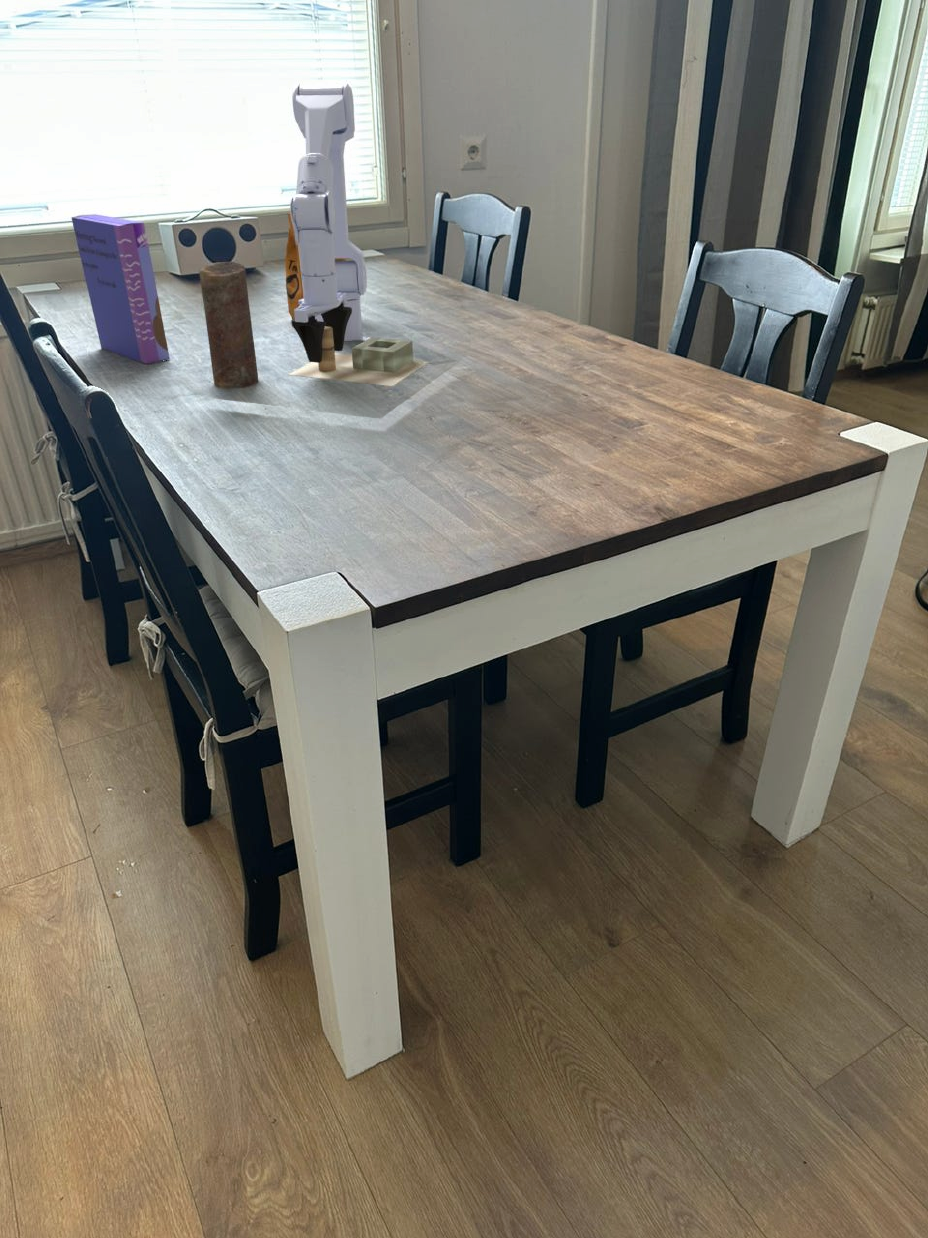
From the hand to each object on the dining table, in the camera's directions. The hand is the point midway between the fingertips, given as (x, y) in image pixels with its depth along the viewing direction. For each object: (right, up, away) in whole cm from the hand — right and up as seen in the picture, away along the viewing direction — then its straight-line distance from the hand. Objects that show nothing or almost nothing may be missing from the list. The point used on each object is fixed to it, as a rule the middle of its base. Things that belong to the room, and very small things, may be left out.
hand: (326, 356), depth 151 cm
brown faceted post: (-14, -7, -3) cm, 16 cm away
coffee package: (-7, +19, +38) cm, 43 cm away
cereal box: (-40, +5, +17) cm, 44 cm away
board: (+6, -3, +2) cm, 7 cm away
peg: (0, -2, +1) cm, 2 cm away
